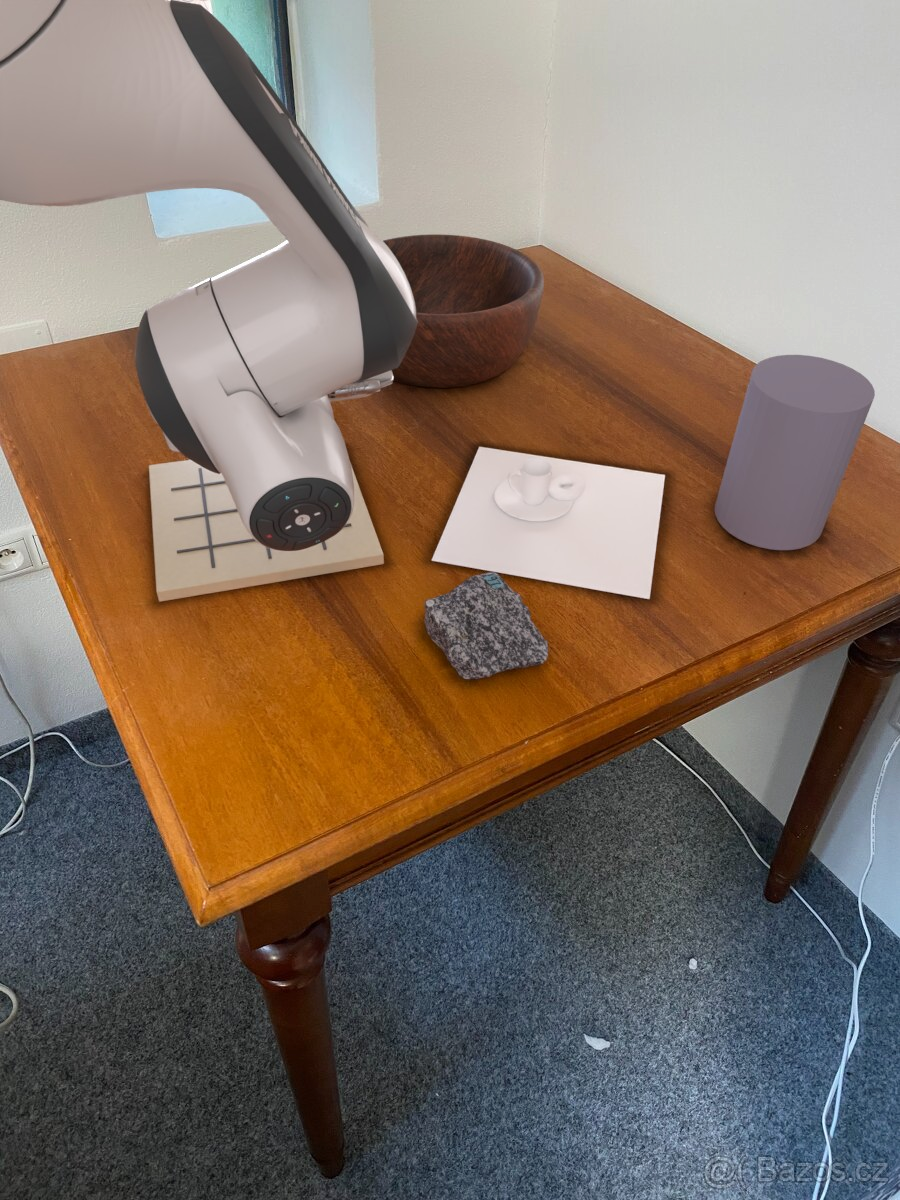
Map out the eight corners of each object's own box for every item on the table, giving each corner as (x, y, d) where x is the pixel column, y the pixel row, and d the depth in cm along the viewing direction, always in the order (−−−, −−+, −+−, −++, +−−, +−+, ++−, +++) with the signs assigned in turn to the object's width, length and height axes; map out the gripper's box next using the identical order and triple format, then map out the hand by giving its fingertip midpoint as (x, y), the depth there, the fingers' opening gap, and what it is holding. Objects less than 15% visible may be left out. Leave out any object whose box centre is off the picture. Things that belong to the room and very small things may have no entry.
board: (159, 602, 76) (155, 591, 75) (150, 473, 90) (148, 462, 89) (384, 564, 80) (383, 553, 79) (342, 447, 94) (341, 436, 94)
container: (752, 562, 81) (798, 421, 71) (693, 500, 89) (728, 364, 78) (843, 540, 84) (901, 402, 74) (780, 481, 91) (824, 348, 81)
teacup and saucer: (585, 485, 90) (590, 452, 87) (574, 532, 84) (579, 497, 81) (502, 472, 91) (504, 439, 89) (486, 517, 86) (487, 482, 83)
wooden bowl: (404, 294, 124) (402, 219, 117) (567, 335, 115) (576, 257, 108) (300, 368, 107) (291, 286, 100) (482, 422, 99) (486, 337, 92)
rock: (466, 703, 68) (468, 666, 65) (418, 619, 75) (417, 582, 72) (552, 675, 70) (557, 638, 68) (497, 597, 77) (500, 560, 74)
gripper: (398, 351, 70) (362, 282, 79) (131, 382, 65) (128, 305, 75) (399, 420, 74) (366, 347, 84) (149, 454, 70) (144, 372, 79)
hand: (251, 327), depth 79 cm, fingers closed on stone, 5 cm apart
